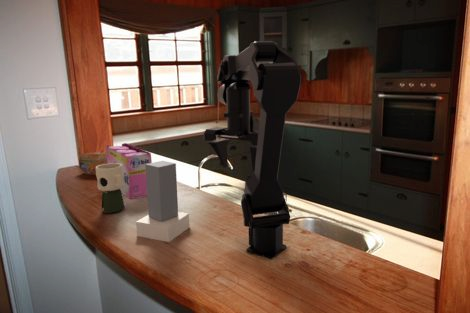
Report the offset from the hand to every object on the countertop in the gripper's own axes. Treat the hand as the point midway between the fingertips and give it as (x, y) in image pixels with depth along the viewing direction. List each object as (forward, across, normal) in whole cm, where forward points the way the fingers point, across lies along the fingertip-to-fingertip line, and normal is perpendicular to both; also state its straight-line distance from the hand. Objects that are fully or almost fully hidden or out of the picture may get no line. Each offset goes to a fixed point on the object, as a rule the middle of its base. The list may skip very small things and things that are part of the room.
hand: (239, 169), depth 96 cm
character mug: (+13, +34, +15) cm, 39 cm away
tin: (+13, +73, -8) cm, 75 cm away
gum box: (+13, +46, -2) cm, 48 cm away
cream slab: (+13, +11, +17) cm, 24 cm away
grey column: (+9, +11, +17) cm, 22 cm away
